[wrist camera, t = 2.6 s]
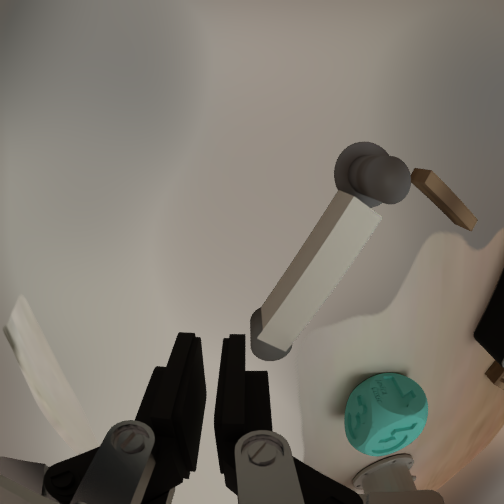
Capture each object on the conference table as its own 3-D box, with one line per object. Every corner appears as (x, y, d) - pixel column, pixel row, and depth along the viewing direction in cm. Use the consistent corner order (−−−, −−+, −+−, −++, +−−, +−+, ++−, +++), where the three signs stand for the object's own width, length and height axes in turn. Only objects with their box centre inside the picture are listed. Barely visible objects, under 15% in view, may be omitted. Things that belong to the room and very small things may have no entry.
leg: (335, 188, 25) (350, 194, 21) (366, 209, 25) (385, 219, 21) (243, 327, 29) (243, 351, 25) (274, 341, 29) (277, 366, 26)
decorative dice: (411, 370, 32) (437, 411, 24) (388, 411, 34) (407, 451, 27) (359, 372, 32) (380, 420, 24) (339, 415, 34) (352, 460, 26)
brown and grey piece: (460, 213, 26) (491, 225, 21) (430, 264, 27) (456, 284, 22) (359, 122, 23) (384, 116, 18) (321, 184, 25) (339, 191, 20)
